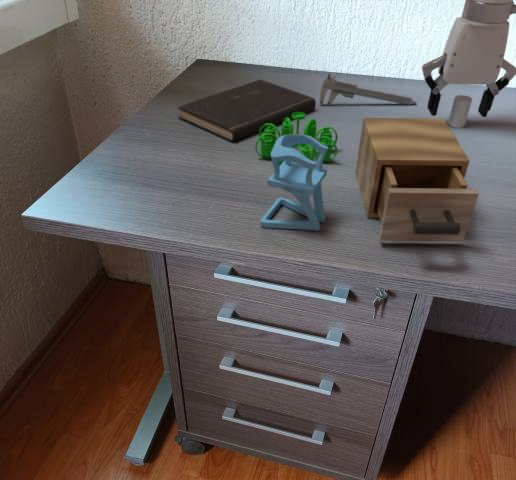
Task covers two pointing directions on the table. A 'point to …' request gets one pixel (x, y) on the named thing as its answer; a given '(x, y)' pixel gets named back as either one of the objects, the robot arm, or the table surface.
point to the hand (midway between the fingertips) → (456, 113)
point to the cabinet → (403, 150)
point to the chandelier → (287, 129)
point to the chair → (297, 182)
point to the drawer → (424, 203)
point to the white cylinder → (459, 111)
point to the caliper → (358, 92)
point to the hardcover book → (245, 109)
